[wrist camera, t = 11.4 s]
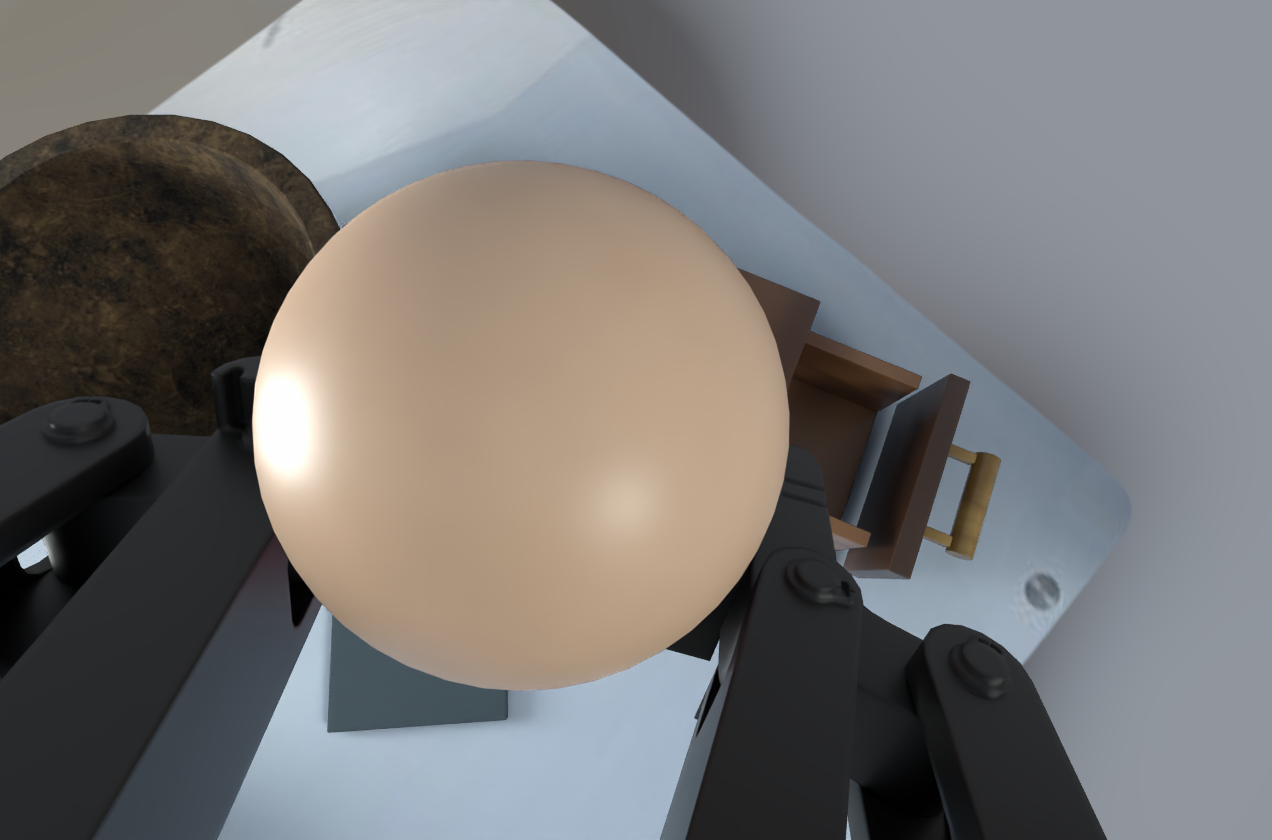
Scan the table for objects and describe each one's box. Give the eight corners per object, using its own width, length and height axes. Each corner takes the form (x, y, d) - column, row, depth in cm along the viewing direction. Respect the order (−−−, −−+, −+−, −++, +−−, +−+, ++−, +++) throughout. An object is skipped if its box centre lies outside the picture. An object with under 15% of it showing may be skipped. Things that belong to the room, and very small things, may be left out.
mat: (508, 717, 38) (506, 720, 37) (331, 730, 38) (326, 733, 37) (505, 542, 40) (504, 542, 40) (338, 552, 40) (334, 551, 39)
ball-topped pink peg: (688, 494, 22) (1068, 136, 4) (626, 648, 20) (784, 1089, 3) (543, 432, 22) (312, -160, 4) (473, 580, 21) (-251, 602, 3)
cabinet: (780, 352, 44) (821, 301, 36) (712, 528, 41) (739, 517, 33) (579, 270, 45) (573, 201, 36) (499, 438, 42) (472, 404, 33)
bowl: (-22, 443, 40) (-221, 401, 30) (187, 163, 45) (72, 50, 35) (288, 602, 39) (183, 612, 29) (469, 297, 44) (430, 218, 34)
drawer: (971, 434, 42) (1039, 408, 36) (920, 604, 40) (983, 610, 33) (720, 331, 43) (741, 288, 36) (654, 491, 41) (664, 476, 34)
